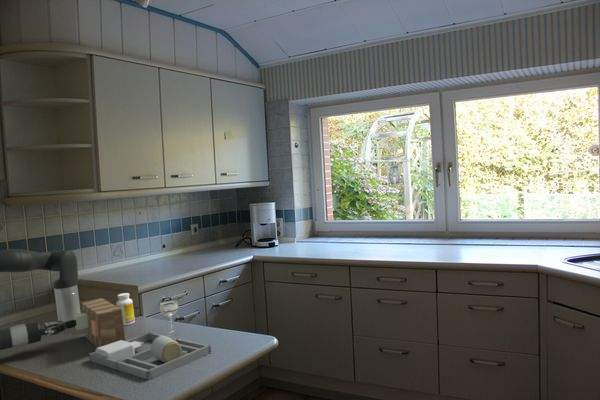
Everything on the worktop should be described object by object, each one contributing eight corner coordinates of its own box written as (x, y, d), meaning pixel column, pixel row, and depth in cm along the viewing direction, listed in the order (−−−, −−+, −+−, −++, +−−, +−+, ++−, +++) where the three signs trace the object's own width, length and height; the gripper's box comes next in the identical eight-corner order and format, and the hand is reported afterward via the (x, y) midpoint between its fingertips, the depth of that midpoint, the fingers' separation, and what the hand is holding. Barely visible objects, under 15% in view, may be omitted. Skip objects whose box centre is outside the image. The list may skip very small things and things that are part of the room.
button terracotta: (92, 333, 185) (90, 320, 185) (106, 330, 188) (104, 317, 188) (95, 336, 181) (94, 323, 181) (110, 333, 184) (108, 319, 184)
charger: (150, 351, 177) (109, 366, 166) (136, 347, 183) (96, 361, 172) (148, 338, 176) (107, 351, 166) (135, 334, 183) (95, 347, 172)
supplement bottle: (137, 321, 218) (134, 291, 218) (131, 325, 212) (127, 295, 211) (123, 322, 219) (119, 292, 219) (116, 326, 213) (112, 296, 212)
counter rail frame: (89, 360, 172) (89, 353, 172) (150, 338, 190) (149, 332, 190) (148, 379, 150) (147, 371, 150) (211, 352, 168) (210, 345, 168)
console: (85, 336, 202) (81, 302, 201) (105, 331, 207) (101, 298, 206) (103, 353, 179) (98, 314, 178) (126, 346, 184) (121, 309, 183)
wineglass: (162, 333, 197) (158, 302, 196) (179, 329, 199) (176, 299, 199) (164, 337, 191) (161, 306, 190) (182, 333, 193) (179, 302, 193)
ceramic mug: (163, 367, 159) (161, 343, 159) (151, 362, 165) (149, 338, 165) (192, 357, 166) (190, 334, 166) (180, 352, 172) (177, 330, 172)
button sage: (75, 327, 197) (73, 314, 196) (88, 324, 199) (87, 311, 199) (77, 330, 193) (76, 317, 192) (91, 326, 195) (90, 314, 195)
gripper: (26, 327, 179) (78, 315, 189) (21, 320, 190) (71, 309, 200) (28, 348, 179) (80, 335, 189) (24, 340, 190) (73, 328, 200)
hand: (75, 322), depth 194 cm, fingers closed
